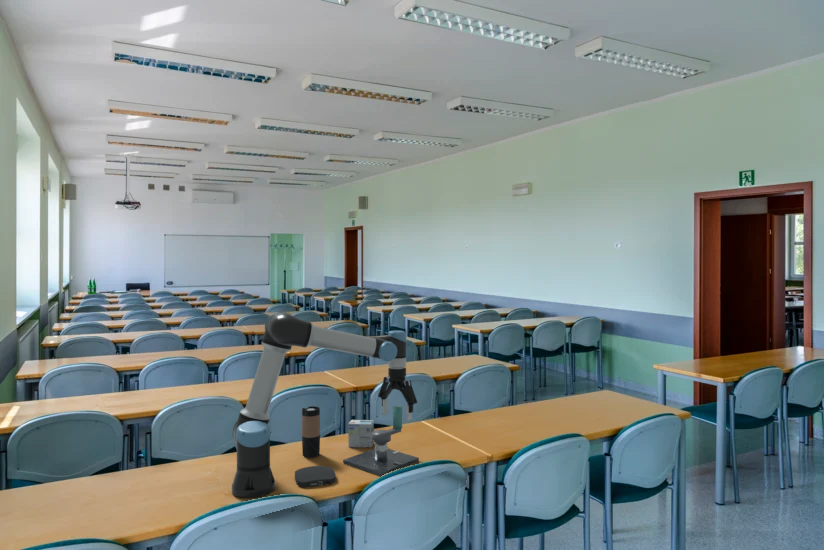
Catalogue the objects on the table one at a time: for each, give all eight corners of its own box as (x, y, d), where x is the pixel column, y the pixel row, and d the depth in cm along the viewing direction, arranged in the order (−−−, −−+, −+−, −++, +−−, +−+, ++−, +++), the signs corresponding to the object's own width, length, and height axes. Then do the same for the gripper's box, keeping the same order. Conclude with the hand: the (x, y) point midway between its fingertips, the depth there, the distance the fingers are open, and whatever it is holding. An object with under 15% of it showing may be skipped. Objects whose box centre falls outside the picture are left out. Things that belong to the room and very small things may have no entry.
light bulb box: (374, 443, 255) (374, 419, 255) (371, 448, 248) (371, 423, 248) (351, 442, 256) (351, 419, 256) (348, 447, 249) (347, 423, 249)
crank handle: (407, 435, 236) (407, 407, 236) (381, 444, 224) (381, 415, 224) (394, 431, 242) (393, 404, 241) (367, 440, 230) (367, 411, 229)
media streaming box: (331, 470, 222) (330, 463, 222) (337, 484, 208) (337, 476, 208) (293, 475, 217) (293, 467, 217) (297, 489, 204) (297, 481, 203)
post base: (382, 476, 215) (381, 453, 214) (343, 463, 229) (343, 441, 229) (418, 461, 231) (418, 439, 231) (380, 449, 246) (380, 429, 245)
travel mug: (318, 458, 235) (318, 410, 235) (300, 458, 235) (300, 410, 235) (321, 452, 243) (321, 406, 242) (304, 451, 243) (303, 406, 243)
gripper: (425, 369, 232) (425, 420, 232) (382, 362, 248) (381, 410, 248) (413, 372, 226) (413, 424, 226) (370, 365, 242) (370, 413, 243)
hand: (397, 417), depth 237 cm, fingers open, 13 cm apart
